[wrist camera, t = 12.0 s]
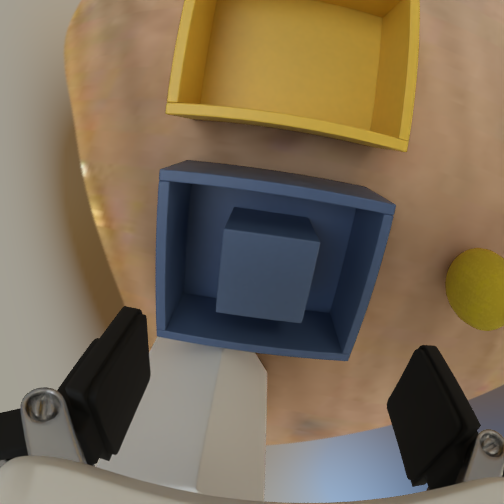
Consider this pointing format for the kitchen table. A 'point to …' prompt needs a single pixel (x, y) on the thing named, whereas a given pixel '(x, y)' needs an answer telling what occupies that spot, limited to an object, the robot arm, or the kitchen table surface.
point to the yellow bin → (300, 66)
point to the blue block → (266, 265)
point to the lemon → (477, 288)
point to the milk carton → (199, 422)
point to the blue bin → (209, 253)
